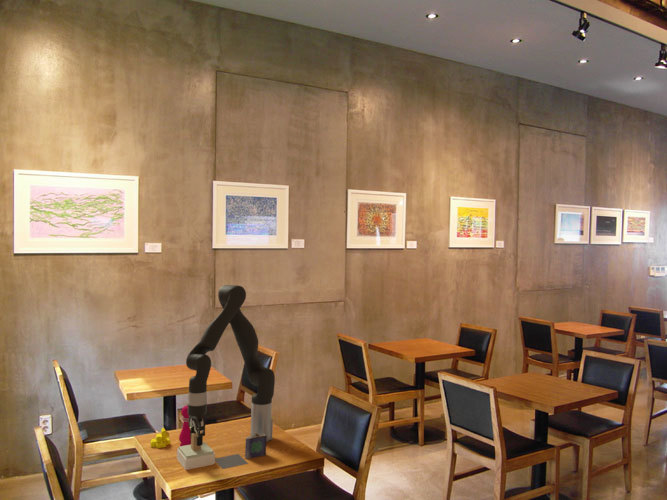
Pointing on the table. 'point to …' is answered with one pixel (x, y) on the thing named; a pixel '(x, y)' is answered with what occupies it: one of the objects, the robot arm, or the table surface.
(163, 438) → the yellow lumpy cluster
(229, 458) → the mat
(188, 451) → the lid
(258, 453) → the flask
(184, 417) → the pepper mill
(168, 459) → the table surface
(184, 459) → the dish
